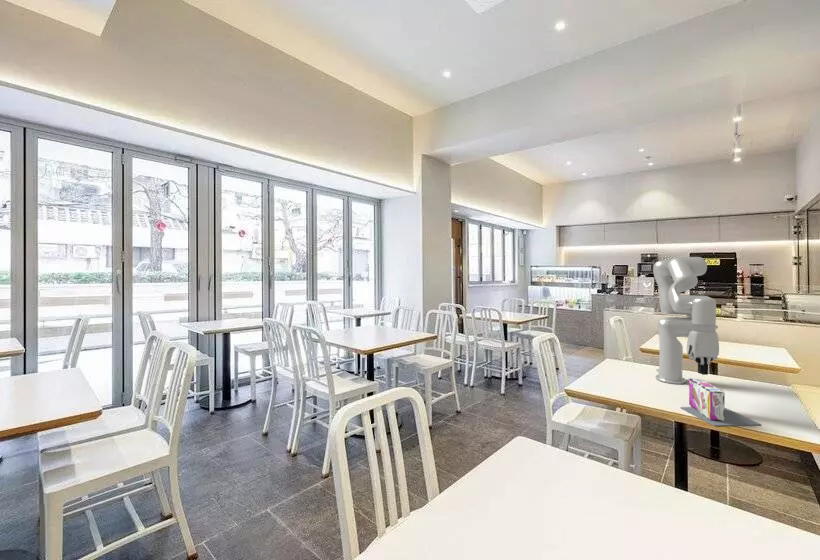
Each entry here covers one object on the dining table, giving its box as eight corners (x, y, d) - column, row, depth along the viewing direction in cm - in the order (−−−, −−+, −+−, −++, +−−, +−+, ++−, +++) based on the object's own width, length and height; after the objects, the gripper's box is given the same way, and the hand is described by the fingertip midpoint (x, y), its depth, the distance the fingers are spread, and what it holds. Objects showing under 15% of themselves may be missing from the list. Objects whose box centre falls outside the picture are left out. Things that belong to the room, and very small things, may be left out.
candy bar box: (687, 378, 155) (709, 390, 139) (701, 378, 154) (725, 391, 138) (687, 404, 156) (709, 420, 140) (701, 405, 155) (725, 421, 139)
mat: (680, 408, 153) (680, 407, 153) (722, 407, 153) (722, 406, 153) (714, 426, 136) (714, 425, 136) (761, 425, 136) (761, 424, 136)
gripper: (714, 326, 155) (713, 370, 156) (678, 327, 155) (677, 371, 156) (730, 329, 147) (729, 376, 148) (691, 330, 147) (691, 377, 148)
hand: (702, 373), depth 152 cm, fingers closed
